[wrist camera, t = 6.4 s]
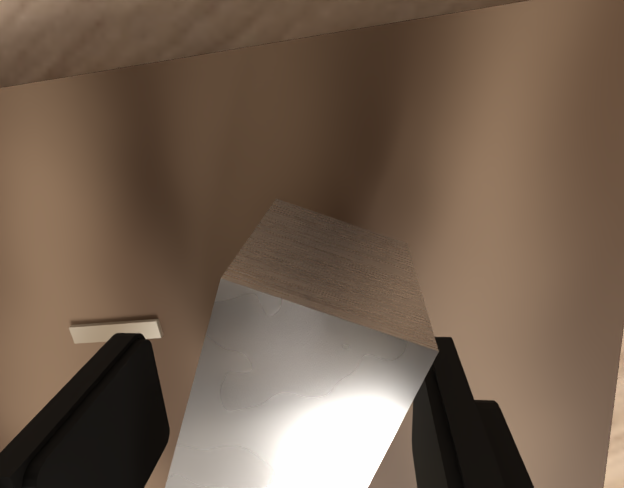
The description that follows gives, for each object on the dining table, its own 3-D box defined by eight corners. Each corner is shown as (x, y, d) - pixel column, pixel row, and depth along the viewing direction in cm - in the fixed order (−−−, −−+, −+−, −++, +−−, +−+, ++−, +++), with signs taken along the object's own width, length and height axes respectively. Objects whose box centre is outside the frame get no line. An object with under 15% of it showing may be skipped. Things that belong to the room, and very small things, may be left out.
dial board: (626, -9, 10) (672, -24, 9) (579, 467, 16) (604, 509, 14) (-232, 131, 14) (-304, 137, 13) (-39, 477, 19) (-73, 512, 18)
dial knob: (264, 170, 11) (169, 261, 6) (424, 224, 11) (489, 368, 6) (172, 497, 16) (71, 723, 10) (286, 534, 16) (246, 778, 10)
